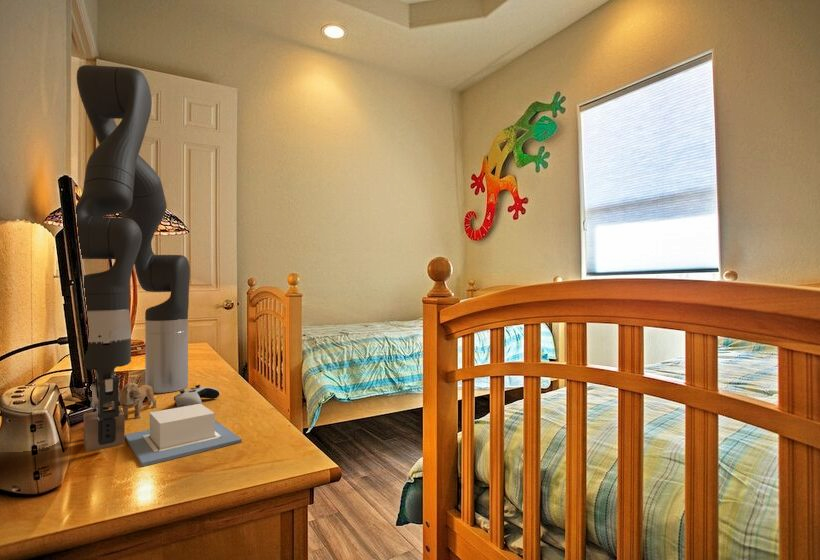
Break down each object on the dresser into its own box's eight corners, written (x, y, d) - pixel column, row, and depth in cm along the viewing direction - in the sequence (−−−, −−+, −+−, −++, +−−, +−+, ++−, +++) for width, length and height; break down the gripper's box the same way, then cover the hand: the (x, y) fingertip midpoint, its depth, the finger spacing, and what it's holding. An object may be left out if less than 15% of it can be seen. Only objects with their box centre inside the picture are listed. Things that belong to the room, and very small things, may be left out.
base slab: (149, 436, 72) (149, 412, 72) (200, 425, 77) (200, 403, 77) (160, 449, 66) (160, 423, 66) (214, 437, 71) (214, 413, 71)
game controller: (201, 403, 87) (179, 384, 88) (184, 423, 87) (162, 404, 88) (223, 392, 97) (203, 374, 97) (207, 410, 97) (188, 392, 97)
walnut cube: (83, 443, 70) (83, 413, 70) (119, 436, 74) (120, 407, 74) (86, 452, 66) (86, 420, 67) (124, 444, 70) (124, 413, 70)
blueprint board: (124, 437, 73) (124, 433, 73) (211, 419, 82) (211, 416, 82) (142, 466, 61) (142, 462, 61) (241, 442, 70) (241, 438, 70)
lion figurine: (139, 422, 81) (139, 384, 81) (113, 425, 80) (113, 385, 80) (159, 406, 92) (159, 372, 92) (137, 407, 91) (137, 373, 91)
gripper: (72, 336, 73) (71, 431, 73) (78, 343, 62) (77, 455, 62) (124, 332, 78) (124, 421, 78) (138, 339, 67) (138, 442, 67)
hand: (103, 436), depth 70 cm, fingers open, 8 cm apart
